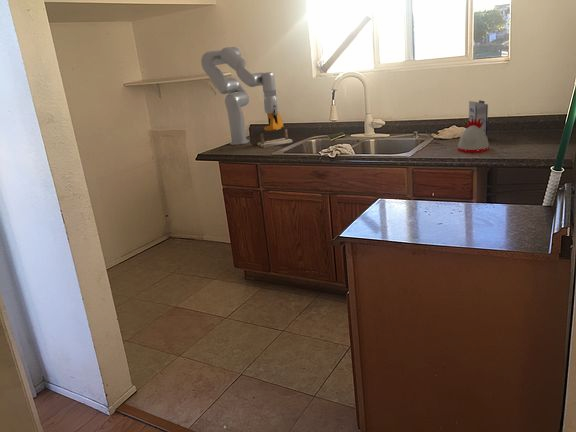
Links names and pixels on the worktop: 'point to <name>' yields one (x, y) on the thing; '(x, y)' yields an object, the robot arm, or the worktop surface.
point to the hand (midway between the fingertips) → (273, 124)
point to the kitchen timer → (473, 139)
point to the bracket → (272, 122)
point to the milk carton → (479, 113)
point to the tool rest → (274, 142)
